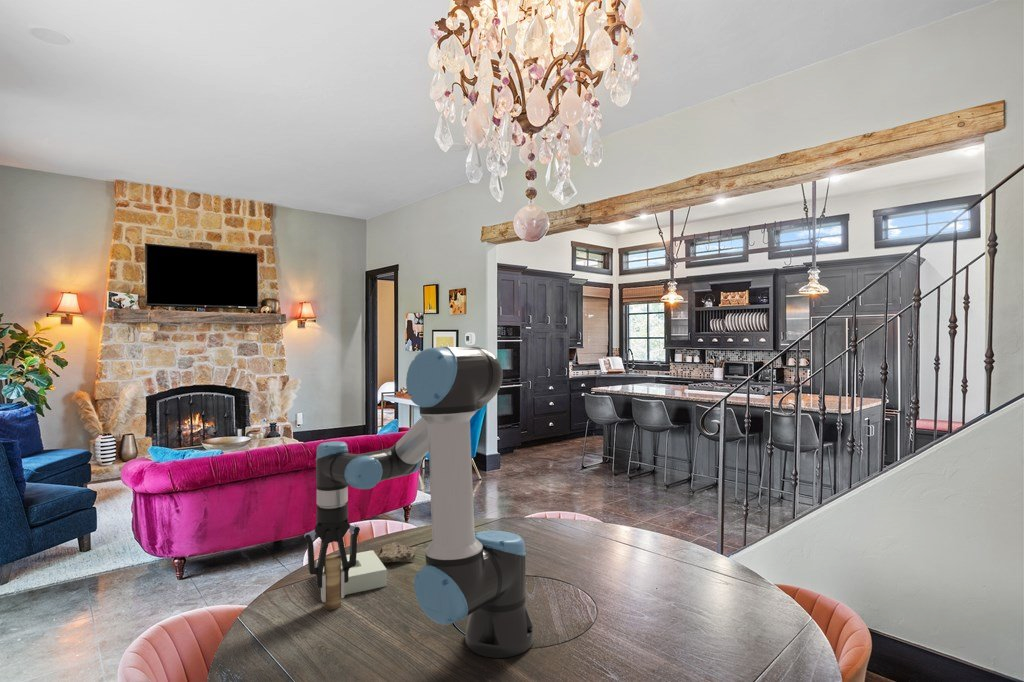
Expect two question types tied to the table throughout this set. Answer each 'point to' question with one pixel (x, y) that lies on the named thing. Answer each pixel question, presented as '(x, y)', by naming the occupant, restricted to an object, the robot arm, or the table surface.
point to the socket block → (365, 573)
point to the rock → (396, 553)
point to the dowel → (333, 582)
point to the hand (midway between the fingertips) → (332, 597)
